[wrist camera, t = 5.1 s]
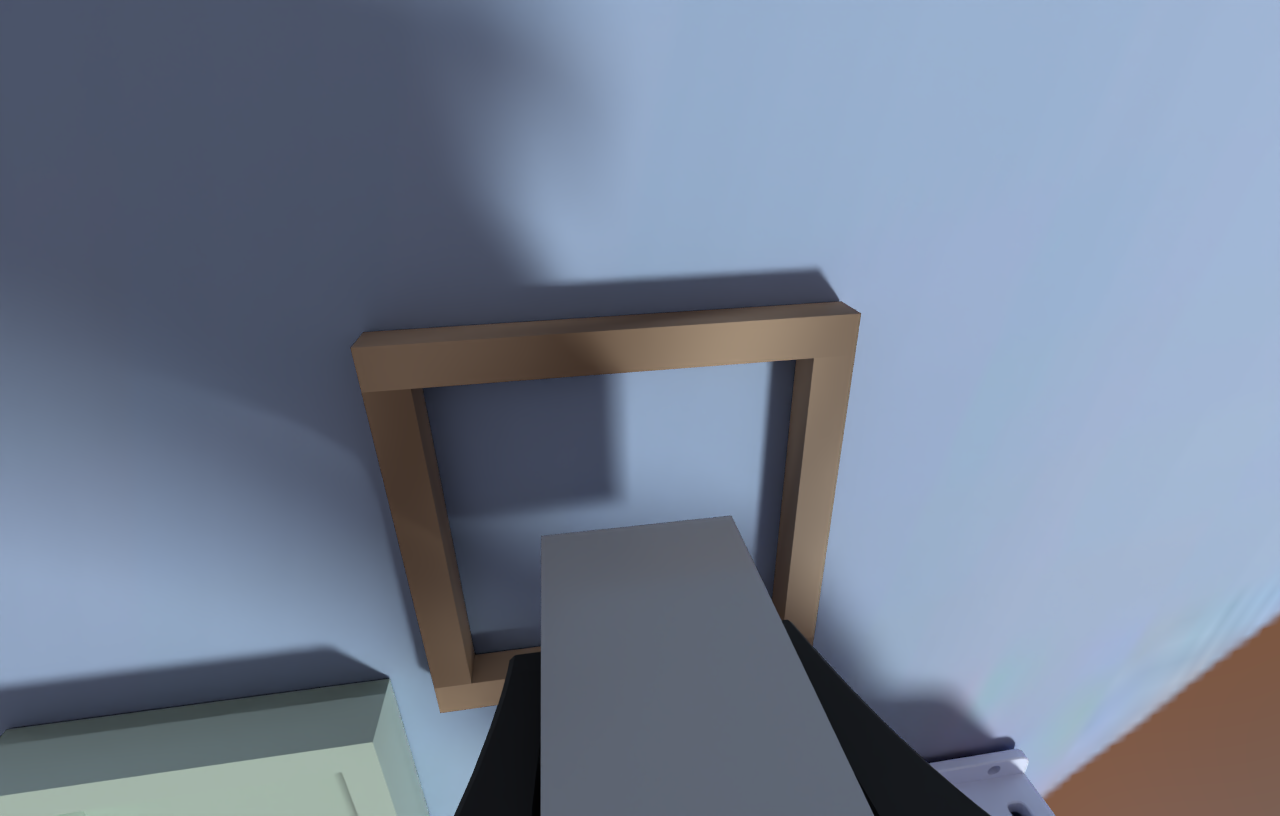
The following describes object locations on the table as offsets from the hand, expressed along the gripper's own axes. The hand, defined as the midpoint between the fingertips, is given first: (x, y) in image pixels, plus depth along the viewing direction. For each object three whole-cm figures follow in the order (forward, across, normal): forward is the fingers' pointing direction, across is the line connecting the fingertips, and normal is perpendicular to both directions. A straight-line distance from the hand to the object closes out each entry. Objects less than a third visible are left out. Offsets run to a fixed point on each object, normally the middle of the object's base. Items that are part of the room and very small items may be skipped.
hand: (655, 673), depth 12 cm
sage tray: (+5, +12, +10) cm, 16 cm away
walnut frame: (+5, 0, 0) cm, 5 cm away
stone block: (+2, 0, 0) cm, 2 cm away
